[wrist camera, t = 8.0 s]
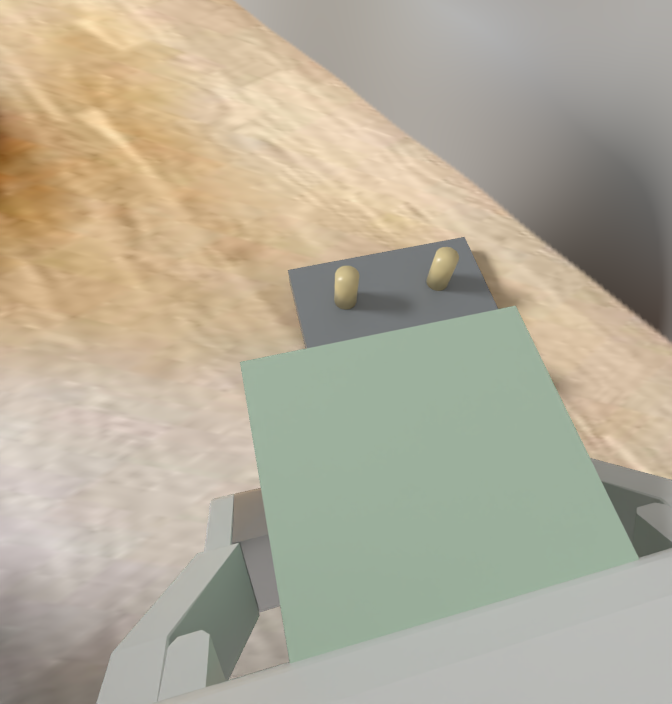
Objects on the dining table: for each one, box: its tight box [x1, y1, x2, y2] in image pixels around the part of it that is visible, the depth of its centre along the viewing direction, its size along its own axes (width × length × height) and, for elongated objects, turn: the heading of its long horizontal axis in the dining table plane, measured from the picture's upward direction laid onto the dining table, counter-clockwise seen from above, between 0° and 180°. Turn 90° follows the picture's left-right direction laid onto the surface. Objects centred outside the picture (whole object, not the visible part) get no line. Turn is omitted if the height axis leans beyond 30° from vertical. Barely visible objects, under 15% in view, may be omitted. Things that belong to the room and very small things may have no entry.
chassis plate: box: [288, 237, 498, 349], centre depth 30 cm, size 14×14×4 cm
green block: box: [240, 306, 639, 663], centre depth 10 cm, size 4×4×10 cm
